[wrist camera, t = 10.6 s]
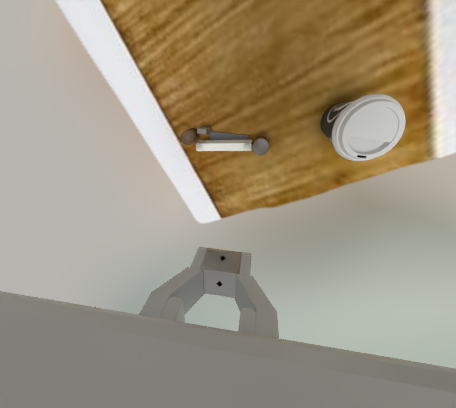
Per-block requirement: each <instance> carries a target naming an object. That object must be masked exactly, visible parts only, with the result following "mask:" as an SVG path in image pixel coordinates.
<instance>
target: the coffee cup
mask: <svg viewBox="0 0 456 408" xmlns="http://www.w3.org/2000/svg"><path fill="white" fill-rule="evenodd" d="M321 129H322V131H323V132H324V134H325V135H326V136H327V137H328V138H329V139H330V140H331V141H332V143H333V146H334V148H335V150H336V152H337V153H338V154H339V155H340V156H342V157H343V158H345V159H348V160H352V161H365V160H370V159H373V158H376V157H378V156H381V155H383V154H385V153H386V152H388V151H389V150H390V149H392V148H393V147H394V146H395V145H396V143H397V142H398V141H399V140H400V138H401V136H402V134H403V132H404V129H405V115H404V111H403V109H402V107H401V105H400V104H399V102H398V101H396V100H395V99H394V98H392V97H390V96H388V95H384V94H370V95H366V96H363V97H361V98H358V99H357V100H355V101H352V102H346V103H340V104H336V105H334V106H332V107H330V108H329V109H328V110H327V111H326V112H325V113H324V115H323V117H322V119H321Z"/></svg>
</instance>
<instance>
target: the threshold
mask: <svg viewBox="0 0 456 408" xmlns="http://www.w3.org/2000/svg"><path fill="white" fill-rule="evenodd" d="M210 140H248V135H239V134H230V133H221V132H211V131H210Z"/></svg>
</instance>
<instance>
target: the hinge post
mask: <svg viewBox="0 0 456 408" xmlns="http://www.w3.org/2000/svg"><path fill="white" fill-rule="evenodd" d="M268 150H269V143H268V142H267V140H266V138H265V137H263V136H259V137H257V138H256V139H255V142H254V143H253V151H254V153H255V154H257V155H264V154H266V153H267V152H268Z"/></svg>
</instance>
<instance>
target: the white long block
mask: <svg viewBox="0 0 456 408" xmlns="http://www.w3.org/2000/svg"><path fill="white" fill-rule="evenodd" d="M251 149H252V140H200V141H199V142H197V143H196V150H197V151H251Z"/></svg>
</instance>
